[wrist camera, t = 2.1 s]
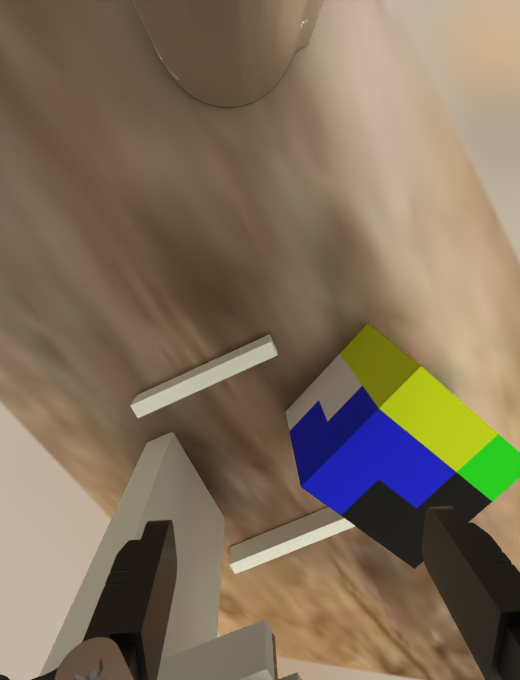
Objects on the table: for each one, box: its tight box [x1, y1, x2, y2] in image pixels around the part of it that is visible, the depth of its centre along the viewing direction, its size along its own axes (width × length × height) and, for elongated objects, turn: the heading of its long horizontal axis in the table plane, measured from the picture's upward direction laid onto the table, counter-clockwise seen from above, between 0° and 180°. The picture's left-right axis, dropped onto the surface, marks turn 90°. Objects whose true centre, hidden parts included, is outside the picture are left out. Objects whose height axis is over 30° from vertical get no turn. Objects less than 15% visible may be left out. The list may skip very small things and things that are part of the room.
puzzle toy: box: [286, 323, 520, 569], centre depth 29 cm, size 10×10×10 cm
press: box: [39, 334, 355, 680], centre depth 23 cm, size 14×18×24 cm
